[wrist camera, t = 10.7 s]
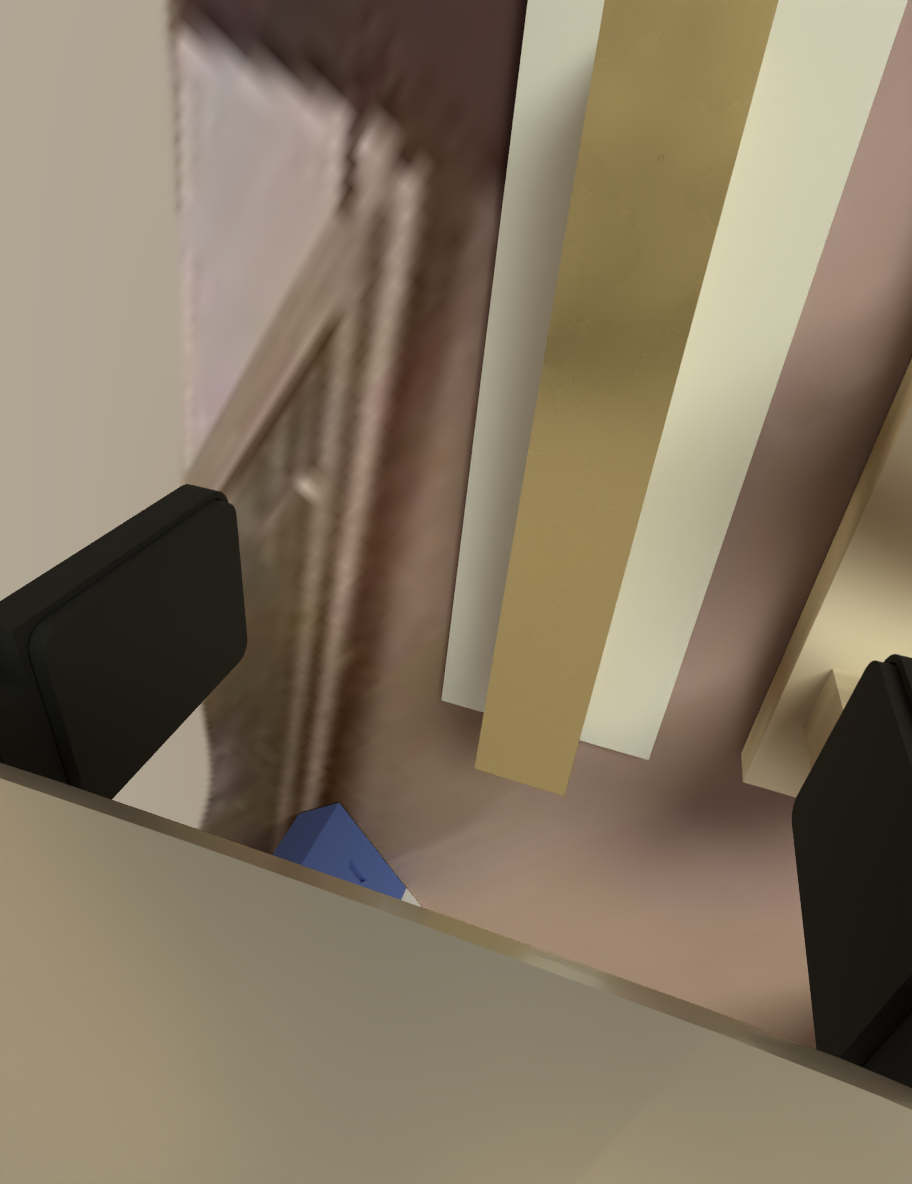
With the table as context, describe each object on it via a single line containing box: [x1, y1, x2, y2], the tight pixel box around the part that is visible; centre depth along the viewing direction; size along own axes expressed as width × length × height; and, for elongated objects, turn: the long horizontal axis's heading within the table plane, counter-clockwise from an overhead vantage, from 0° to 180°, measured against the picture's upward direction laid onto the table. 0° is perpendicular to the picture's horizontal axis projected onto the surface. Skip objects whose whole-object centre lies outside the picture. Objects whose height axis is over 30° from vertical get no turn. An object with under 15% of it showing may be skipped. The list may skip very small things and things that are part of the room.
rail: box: [474, 0, 779, 796], centre depth 19 cm, size 20×3×4 cm, turn 174°
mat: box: [442, 0, 908, 760], centre depth 21 cm, size 22×8×1 cm, turn 175°
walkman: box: [273, 803, 421, 907], centre depth 30 cm, size 8×3×12 cm, turn 34°
